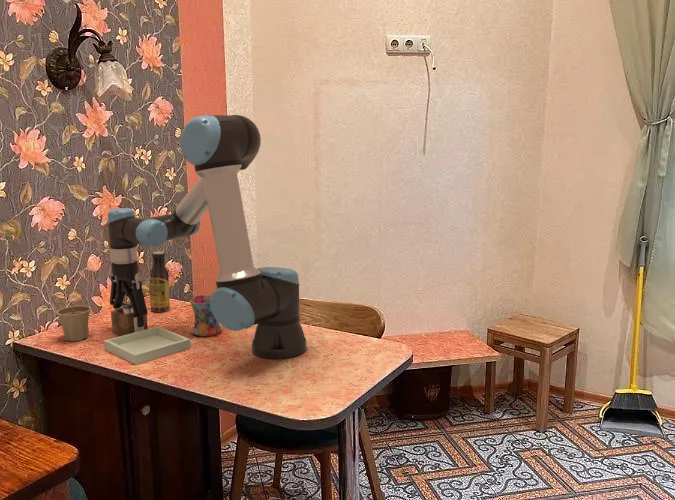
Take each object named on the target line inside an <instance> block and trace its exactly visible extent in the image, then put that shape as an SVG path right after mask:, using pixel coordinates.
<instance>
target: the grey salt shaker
mask: <svg viewBox="0 0 675 500" xmlns="http://www.w3.org/2000/svg"><path fill="white" fill-rule="evenodd" d="M122 307H123V314H129V313H133V312H134V311H133V308H132V305H131V303H130V301H129V302H123V304H122Z"/></svg>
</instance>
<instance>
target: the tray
mask: <svg viewBox="0 0 675 500" xmlns="http://www.w3.org/2000/svg"><path fill="white" fill-rule="evenodd" d="M103 342H104V343H103V345H104V351H107V352H109V353H111V354H114V355H115V356H117V357H120V358H121V359H123V360H126V361H127V362H129V363H131V364H133V365H136V366H137V365H140V364H143V363H147V362H149V361H152V360H157V359H159V358H162V357H165V356H169V355H172V354H176V353H179V352H183V351H186V350H188V349H191V345H192V344H191V339H190V338H188V337H186V336H183V335H181V334H177V333H176V332H174V331H171V330H167V329H165V328H163V327H160V326H155V327H151V328H148V329H146V330H142V331H138V332H135V333H131V334H127V335H123V336H120V337H119V336H115V337H113V338H109V339H105V340H104V341H103Z"/></svg>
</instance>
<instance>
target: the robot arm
mask: <svg viewBox="0 0 675 500" xmlns="http://www.w3.org/2000/svg"><path fill="white" fill-rule="evenodd" d="M261 141H262V139H261V133H260V130H259V128H258V126H257V125H256V123H254V121H253V120H251V119H250V118H249V117H246V116H244V115H242V114H241V115H240V114H231V115H230V114H229V115H228V114H227V115H226V114H225V115H224V114H223V115H221V114H207V115H199V116H195V117H193V118H191V119H190V120H188V121H187V123H186V124H185V125H184V128H183V129H182V131H181V135H180V143H179V144H180V151H181V154H182V156H183V158H185V159H186V161H187V163H189V164H191V165H194V166H193V167H194V171H195V174H196V175H197V176H199V177H198V178H197V180H196V181H195V182H194V184H193V185H192V186H191V188H190V189H189V191H188V192H187V193H186V194H185V196H184V197H183V198H182V199H181V201H180V202H179V203H178V204H177V206H176V207H175V209H173V211H172V212H171V213H168V214H163V215H157V216H151V217H145V218H144V217H136V214H135V210H134V209H133V208H129V207H127V208H126V207H121V208H120V207H119V208H113V209H109V211H107V228H108V229H107V230H108V240H109V241H108V242H109V255H110V261H111V264H110V266H111V274H112V275H110V280H111V286H110V294H109V295H110V296H109V304H110V306H112V308H113V309H114V310H118V309H122V308H123V307H122V304H123V303H124V300H125V296H126V297H128V300H129V302H130V303H131V305H132V308H133V311H134V314H135V315H134V316H133V317H134V330H135V332H138V331H142V330H144V320H143V316H144V315H146V314H147V315H148V313H149V312H148V309H147V303H146V300H145V296H144V292H143V283H142V281H141V280H140V281H136V275H138V274H139V272H140V271H139V270H140V269H139V261H138V248H137V246H138V245H141V246H146V247H149V248H151V247H159V246H161V245H163V244H164V243H165V242H168V241H171V240H172V241H173V240H177V239H181V238H189V237H190V236H193V235H196V234H197V233H198V232H199V230H200V226H201V222H200V221H201V218H202V217H203V216H204V215H205V213H207V211H208V214H209V218H210V219H209V220H210V224H211V225H210V226H211V228H212V229H211V231H212V235H213V239H214V246H215V251H216V257H217V261H218V267H219V274H218V275H217V277H216V278H215V285H216V289H215V290H214V291H213V292H212V293H211V295H212V297H211V299H210V307H211V311H212V313H213V315H214V317H215V319H216V320H217V322H218V323H219V325H220V326H222V327H223V328H225V329H226V330H228V331H232V332H237V331H242V330H244V329H245V330H246V329H249V328H252V327H253V326H255V325H256V328H255V332H254V337H253V339H252V341H251V349H252V350H251V351H252V353H253V355H255V356H257V357H259V358H263V359H271V360H283V359H291V358H294V357H297V356H298V357H299V356H300V355H302V354H304V353H305V352H306V351H307V349H308V348H307V347H308V346H307V345H308V344H307V343H308V342H307V339H306V338H307V337H305V333H304V331H303V327H302V324H301V322H300V320H301V319H300V315H301V314H300V281H299V273H298V272H297V271H296V270H295V269H293V268H286V267H278V266H277V267H273V266H271V267H270V266H265V267H263V266H262V267H257V268H256V267H255V266H254V261H253V256H252V250H251V244H250V238H249V233H248V228H247V222H246V216H245V215H246V214H245V211H244V205H243V200H242V192H241V188H240V182H239V178H238V173H239V172H241V171H244V170H246V169H247V168H248V167H249V166H250V165H251V164H252V162H253V161H254V160H255V158H256V157H257V155H258V153H259V151H260V148H261V144H262V143H261ZM114 310H113V311H114Z"/></svg>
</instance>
